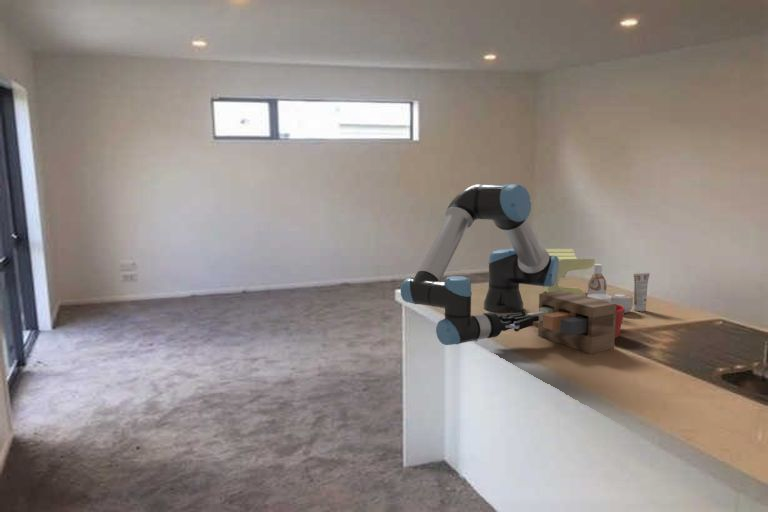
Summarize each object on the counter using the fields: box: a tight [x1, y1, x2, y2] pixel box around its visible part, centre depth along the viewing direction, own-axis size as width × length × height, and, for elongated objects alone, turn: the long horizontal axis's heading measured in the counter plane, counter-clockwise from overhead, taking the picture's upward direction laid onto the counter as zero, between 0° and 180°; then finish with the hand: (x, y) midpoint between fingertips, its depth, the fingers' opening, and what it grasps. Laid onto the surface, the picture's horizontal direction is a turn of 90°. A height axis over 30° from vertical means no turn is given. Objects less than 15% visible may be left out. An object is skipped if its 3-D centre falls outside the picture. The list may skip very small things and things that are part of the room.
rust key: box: [543, 310, 571, 330], centre depth 182 cm, size 4×10×4 cm, turn 119°
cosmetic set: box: [587, 263, 651, 314], centre depth 222 cm, size 25×9×19 cm, turn 102°
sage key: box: [538, 306, 554, 314], centre depth 190 cm, size 4×10×4 cm, turn 119°
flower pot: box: [615, 304, 625, 339], centre depth 192 cm, size 11×11×10 cm
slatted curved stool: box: [541, 248, 596, 296], centre depth 253 cm, size 30×16×18 cm, turn 179°
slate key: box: [560, 315, 589, 336], centre depth 176 cm, size 4×10×4 cm, turn 119°
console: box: [537, 291, 616, 355], centre depth 185 cm, size 22×10×14 cm, turn 29°
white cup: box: [586, 294, 611, 302], centre depth 206 cm, size 8×8×10 cm
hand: (543, 315), depth 188 cm, fingers closed
